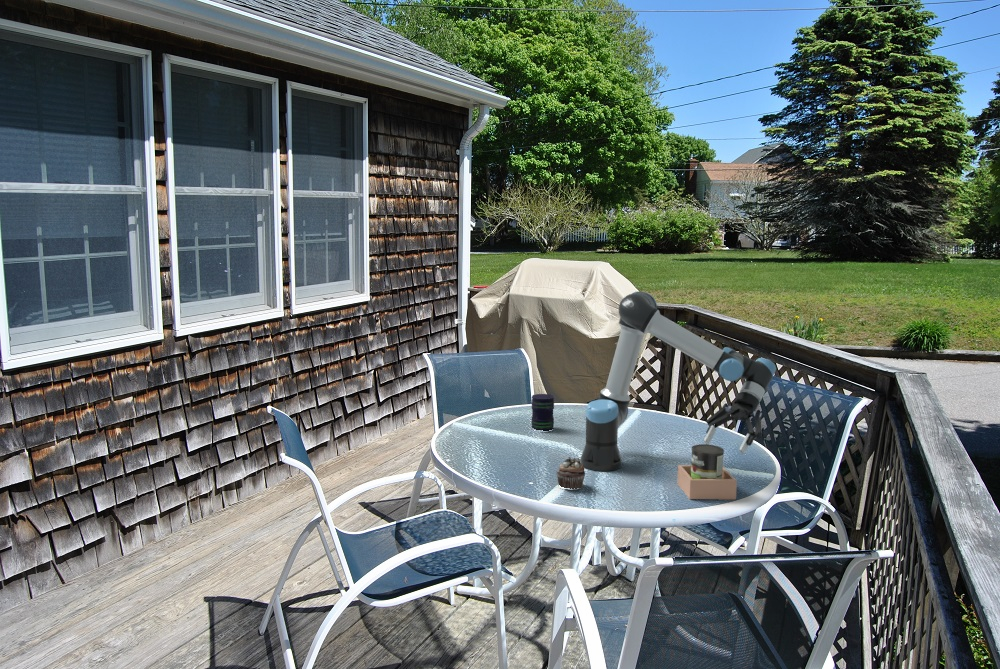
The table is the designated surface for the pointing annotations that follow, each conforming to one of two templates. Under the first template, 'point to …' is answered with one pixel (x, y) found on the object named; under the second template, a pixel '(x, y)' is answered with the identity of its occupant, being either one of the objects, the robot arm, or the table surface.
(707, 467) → the coffee can
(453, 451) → the table surface
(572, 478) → the cupcake
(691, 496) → the planter box
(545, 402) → the storage jar
